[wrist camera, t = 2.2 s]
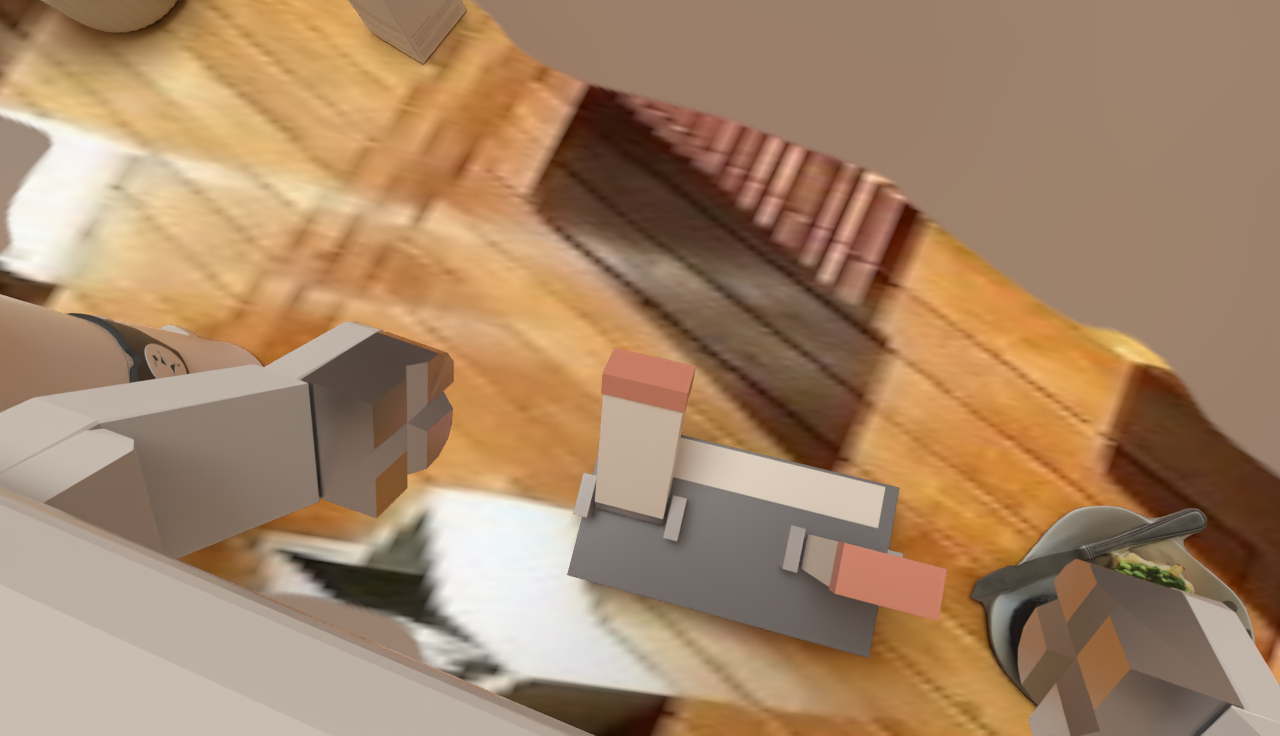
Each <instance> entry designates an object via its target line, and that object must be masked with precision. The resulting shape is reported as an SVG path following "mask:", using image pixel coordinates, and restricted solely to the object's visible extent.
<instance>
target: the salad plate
mask: <svg viewBox="0 0 1280 736" xmlns="http://www.w3.org/2000/svg"><path fill="white" fill-rule="evenodd" d="M1206 524H1207V518H1206V516H1205V515H1204V513H1202V512H1201V511H1200V510H1198V509H1192V508H1189V509H1184V510H1181V511H1178V512H1175V513H1172V514H1169V515H1166V516H1163V517H1158V518H1147V517H1144V516H1142V515H1140V514H1137V513H1135V512H1132V511H1130V510H1127V509H1125V508H1122V507H1112V506H1091V507H1080V508H1078V509H1076V510H1073V511H1071V512H1070V513H1067V514H1066V515H1065V516H1063V517H1062V518H1061V519H1059V520H1058V521H1057V522H1056V523H1055V524H1054V525H1053V526H1051V527H1050V528H1049V529H1048V530H1047V531H1046V532H1045V533H1044V534H1043V535H1042V537H1041V538H1040V539H1039V541H1038V542H1037V544H1035V545H1034V547H1033V548H1032V549H1031V550H1030V551H1029V553H1028V554H1027V555H1026V556H1025V557H1024V559H1023V560H1022V561H1021V562H1020V563H1018V564H1017V565H1016V566H1007V567H1005V568H1002V569H1000V570H997V571H995V572H993V573H991V574H988V575H987V576H985V577H983V578H982V579H980V580H978V581H977V582H976V584H975V587H974V590H973V592H972V594H971V597H972V598H973V599H975V600H977V601H981V602H982V603H983V605H984V607H985V611H986V619H987V629H988V635H989V641H990V645H991V647H992V650H993V654H994V656H995V658H996V660H997V661H998V663H999V665H1000V666H1001V668H1002V669H1003V670H1004V672H1005V673H1006V674H1007V676H1008V677H1009V678H1010V680H1011V681H1012V682H1013V683H1014V684H1015V685H1016V686H1017V687H1019V689H1020V690H1021V691H1022V692H1023V694H1024V695H1025V696H1026V697H1027V698H1028V699H1029V700H1031V701H1032V702H1033V703H1034V704H1035V705H1037V706H1038V704H1037V703H1036V702H1035V701H1034V699H1033V698H1032V697H1031V696H1030V694H1029V693H1028V692H1027V691H1026V690H1025V688H1024V687H1023V686H1022V685H1021V679H1020V674H1019V669H1018V647H1019V643H1020V639H1021V635H1022V632H1023V628H1024V626H1025V624H1026V622H1027V621H1028V619H1029V618H1030V616H1031V614H1032V613H1033V611H1034V610H1035V608H1036V607H1038V606H1041V605H1044V604H1046V603H1049V602H1052V601H1055V600H1057V599H1058V595H1057V591H1056V588H1055V584H1054V581H1055V579H1056V578H1057V576H1058V575H1059V574H1060V572H1061V571H1062V570H1063V568H1064V567H1065V566H1066V565H1068V564H1069V563H1071V562H1072V561H1073V560H1075V559H1079V560H1082V561H1085V562H1088V563H1091V564H1095V565H1098V566H1101V567H1104V568H1108V569H1111V570H1114V571H1117V572H1120V573H1124V574H1127V575H1130V576H1133V577H1136V578H1140V579H1143V580H1146V581H1149V582H1152V583H1156V584H1159V585H1162V586H1165V587H1169V588H1175V589H1178V590H1182V591H1185V592H1189V593H1192V594H1195V595H1199V596H1202V597H1206V598H1209V599H1212V600H1216V601H1219V602H1222V603H1223V604H1225V605H1226V606H1227V607H1229V608H1230V609H1231V610H1233V611H1234V612H1235V613H1236V615H1237V616H1238V618H1239V620H1240V621H1241V623H1242V625H1243V626H1244V628H1245V629H1246V631H1247V633H1248V634H1249V636H1250V638H1251V639H1252V641H1253V643H1254V644H1255V638H1254V633H1253V629H1252V625H1251V621H1250V618H1249V615H1248V613H1247V610H1246V608H1245V605H1244V603H1243V602H1242V601H1241V600H1240V599H1239V598H1238V596H1237V595H1236V594H1235V593H1234V592H1233V591H1232V590H1231V589H1230V588H1229V587H1228V586H1226V585H1225V584H1224V583H1223V582H1222V581H1221V580H1220V579H1218V578H1217V577H1216V576H1215V575H1214V574H1213V573H1212V572H1211V571H1210V570H1209V569H1207V568H1206V567H1204V566H1203V565H1202V564H1201V563H1200V562H1198V561H1197V560H1196V559H1195V558H1194V557H1192V556H1191V555H1190V553H1189V552H1188V551H1187V550H1186V548H1185V547H1184V542H1183V541H1184V539H1185V538H1187V537H1188V536H1190V535H1192V534H1195V533H1199V532H1200V531H1202V530H1204V529H1205V527H1206Z"/></svg>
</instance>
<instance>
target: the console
mask: <svg viewBox="0 0 1280 736" xmlns="http://www.w3.org/2000/svg"><path fill="white" fill-rule="evenodd" d="M597 467H598V458H597V462H596V466H595V470H594V474H593V475H591V474H587V473H584V474H583V478H582V482H581V486H580V489H579V493H578V497H577V501H576V505H575V508H574V512H573V514H575V515H579V516H582V520H581V524H580V528H579V531H578V535H577V539H576V543H575V547H574V551H573V555H572V559H571V562H570V566H569V570H568V574H567V575H569V576H573V577H576V578H580V579H583V580H587V581H591V582H594V583H598V584H602V585H605V586H609V587H613V588H616V589H620V590H624V591H627V592H631V593H634V594H638V595H642V596H645V597H649V598H653V599H656V600H660V601H664V602H667V603H671V604H674V605H678V606H682V607H685V608H689V609H693V610H696V611H700V612H704V613H707V614H711V615H714V616H718V617H722V618H725V619H729V620H733V621H736V622H740V623H744V624H747V625H751V626H754V627H758V628H762V629H765V630H769V631H773V632H776V633H780V634H784V635H787V636H791V637H794V638H798V639H802V640H805V641H809V642H813V643H816V644H820V645H824V646H827V647H831V648H834V649H838V650H842V651H845V652H849V653H853V654H856V655H860V656H864V657H867V658H869V655H870V649H871V644H872V638H873V633H874V627H875V622H876V616H877V611H878V605H876V604H872V603H868V602H864V601H861V600H857V599H853V598H849V597H846V596H842V595H838V594H835V593H833V592H832V591H830V590H829V587H828V586H827V585H825V584H824V583H822V582H821V581H819V580H818V579H816V578H815V577H813V576H812V575H810V574H808V573H807V572H805V571H804V570H802V569H801V568H802V563H803V562H800V556H801V551H802V546H803V541H804V539H807V538H808V534H810V535H814V536H818V537H822V538H826V539H830V540H834V541H837V542H838V541H839V542H843V543H847V544H851V545H855V546H859V547H863V548H867V549H871V550H875V551H879V552H883V553H887V554H891V555H894V556H898V557H902V558H903V554H902V553H898V552H895V551H891V550H888V549H889V544H890V538H891V533H892V527H893V522H894V516H895V511H896V505H897V500H898V494H899V488H898V487H894V486H890V485H886V484H882V483H878V482H874V481H870V480H865V479H861V478H857V477H853V476H849V475H845V474H841V473H836V472H832V471H828V470H824V469H820V468H816V467H812V466H808V465H803V464H799V463H795V462H791V461H787V460H783V459H779V458H774V457H770V456H766V455H762V454H758V453H754V452H750V451H745V450H741V449H737V448H733V447H729V446H725V445H721V444H717V443H712V442H708V441H704V440H700V439H696V438H692V437H688V436H683V435H681V438H680V443H679V449H678V454H677V459H676V465H675V470H674V475H673V481H672V486H671V491H670V496H669V499H668V503H667V504H668V505H667V510H666V515H665V519H664V522H663V526H661V525H657V524H653V523H649V522H645V521H642V520H638V519H634V518H630V517H626V516H622V515H619V514H615V513H611V512H607V511H603V510H599V509H596V502H595V492H596V480H597Z"/></svg>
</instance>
